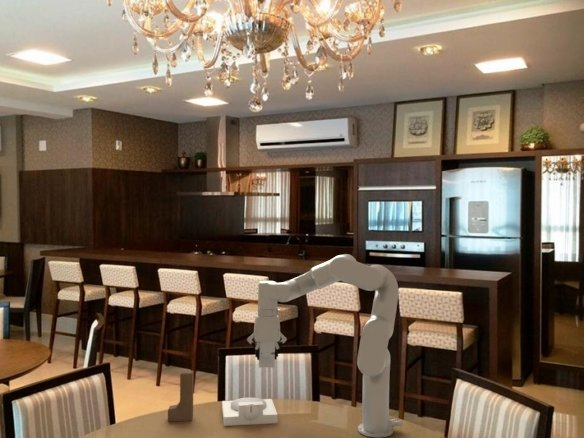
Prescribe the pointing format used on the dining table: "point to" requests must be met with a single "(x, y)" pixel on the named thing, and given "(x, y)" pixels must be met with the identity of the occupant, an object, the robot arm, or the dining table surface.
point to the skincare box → (267, 354)
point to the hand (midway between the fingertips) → (266, 358)
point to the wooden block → (183, 399)
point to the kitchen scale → (249, 411)
